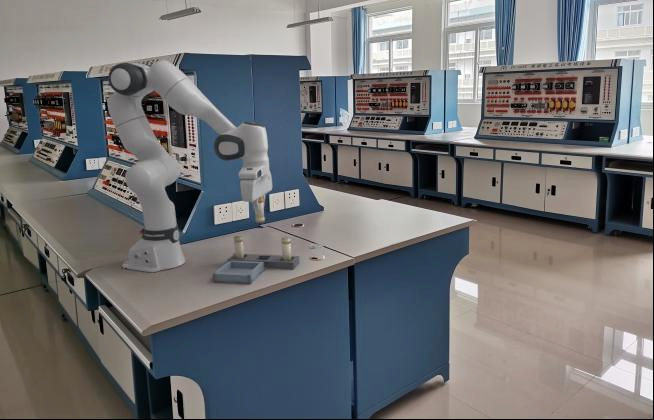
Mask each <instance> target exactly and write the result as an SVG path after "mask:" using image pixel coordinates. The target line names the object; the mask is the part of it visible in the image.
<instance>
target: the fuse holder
mask: <svg viewBox="0 0 654 420" xmlns="http://www.w3.org/2000/svg"><path fill="white" fill-rule="evenodd" d="M229 260H230V261H252V262H264V266H265V269H277V270H295V269H296V268H297V267H298V265H299V264H300V255H291V260H292V261H283V254H277V255H276V254H257V253H256V254H255V253H254V254H253V253H244V259H236V256H235V253H233V254H232V255H231V256H230V257H229V258H227V262H228V261H229ZM227 262H226V263H227Z"/></svg>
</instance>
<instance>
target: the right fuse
mask: <svg viewBox="0 0 654 420" xmlns="http://www.w3.org/2000/svg"><path fill="white" fill-rule="evenodd" d="M280 239H281V251H282V255H283V261H292V260H291V256H292V247H291V244H292V243H291V242H292V241H291V239H292V238H291V237H281V238H280Z"/></svg>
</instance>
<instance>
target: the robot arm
mask: <svg viewBox="0 0 654 420" xmlns="http://www.w3.org/2000/svg"><path fill="white" fill-rule="evenodd" d="M107 76H108V78H107V79H108V80H107V81H108V83H109V86H110V88H111V89H112V90H113V91H114V92H113V93H112V94H111V95H109V97H108V98H107V101H106V102H107V110H108V112H109V115H110V118H111V121H112V124H113V127H114V128H115V130H116V133H117V135H118V138H119V139H120V141H121V143H122V146H123V148H124V150H126V151H127V152H129V153H130V154H132V155H133V156H134V157H135V158H136V160H137V161H138V162H136V163H135V164H133V165H131V167H129V168H128V169H127V170H126V172H125V176H124V180H125V183H126V186H127V188H128V189H129V190H130V191H131V192H133V193H134V195H136V197H137V199H138V202H139V205H140V207H141V211H142V216H143V217H142V218H143V224H144V228H142V229H141V230H139V231H138V235H141V234H142V235H141V238H140V239H138V241H137V242H135V243H134V244H133V245H132V246H131V247H130V249H129V250H128V253H127V260H125V261H124V262H123V263H122V267H123V268H122V269H125V268H127V269H128V270H132V271H138V272H139V271H140V272H146V273H155V272H156V273H157V272H159V271H163V270H170V269H174V268H178V267H180V266H182V265H184V263H185V262H186V258H185V256H184V254H183V253H184V252H183V251H182V247H181V243H180V231H179V225H178V223H177V217H176V216H177V215H176V209H175V208H176V206H175V204H174V202H173V201H172V200H170V198H169V196H168V194H167V191H166V187H167V186H170V185H172V184H173V183H175V181H177V180H178V179H179V177H180V176H181V173H182V172H181V171H182V168H181V164H180V162H179V160H178V159H176V158H175V157H173V156H171V155H170V154H169V153H168V151H167V150H166V149H165V148H164V147H163V145H162V144H161V143H160V141H159V140H158V138H157V136H156V134H155V133H154V131H153V127H152V126H151V124H150V122H149V119H148V118H147V116H146V114H145V111H144V108H143V106H142V101H146V100H148V99H149V97H151V96H152V94H154V93H157V94H158V95H159V96H160V97H161V98H162V99H163V101H164V102H165V103H166V104H167V105H169V106H170V107H171V108H172V110H174V111H176V112H177V113H179V114H181V115H184V116H190V117H194V118H197V119H198V120H199V119H200V120H201V121H203V122H205V123H206V124H208V126H210V127H211V128H212V129H213V130H214V131H215V132H216V133H217V134H218V136H217V137H216V138H215V139H214V141H213V151H214V153H215V155H216V156H217V158H219V159H221V160H222V161H226V162H230V161H235V160H237V159H241V160H242V167H241V169H240V170H239V171H238V179H240V182H239V185H240V195H241V200H242V201H243V202H246V203H250V202H251V204H252V206H253V207H252V208H253V211H254V212H255V211H258V210H259V209H260V205H259V204H258V198H259V197H261V196H263V207H265V201H266V194H268V193H270V192H271V191H272V190H273V179H272V173H271V171H270V158H269V156H268V150H269V143H268V142H269V141H268V134H267V130H266V127H265V125H264V124H263V123H260V122H258V121H243V122H242V123H241V124H240V125H238V126H237V125H236V124H234V123H233V122H232V120H230V119H229V117H227V116H226V115H225V114H224V113H223V112H222V111H221V110H220V109H219V108H218V107H217V106H215V105H214V104H213V103H212V102H211V101H210V100H209V99H208V97H206V96H205V95H204V93H203V92H202V91H201V90H200V89H199V88H198V87H197V86H196V85H195V84H194V83H193V82H192V81H191V79H190V78H189V77H188V76H187V75H186V74H185V73H184V72H183V71H182V70H180V68H178V67H177V66H175V64H173V63H172V62H170V61H168V60H165V59H164V60H163V59H161V60H158V61H155V62H154V63H153V64H152V65H150V64H146V63H140V62H120V63H117V64H115V65H114V66H113V67H111V68H110V70H109V72H108V75H107ZM127 269H126V270H127Z"/></svg>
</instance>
